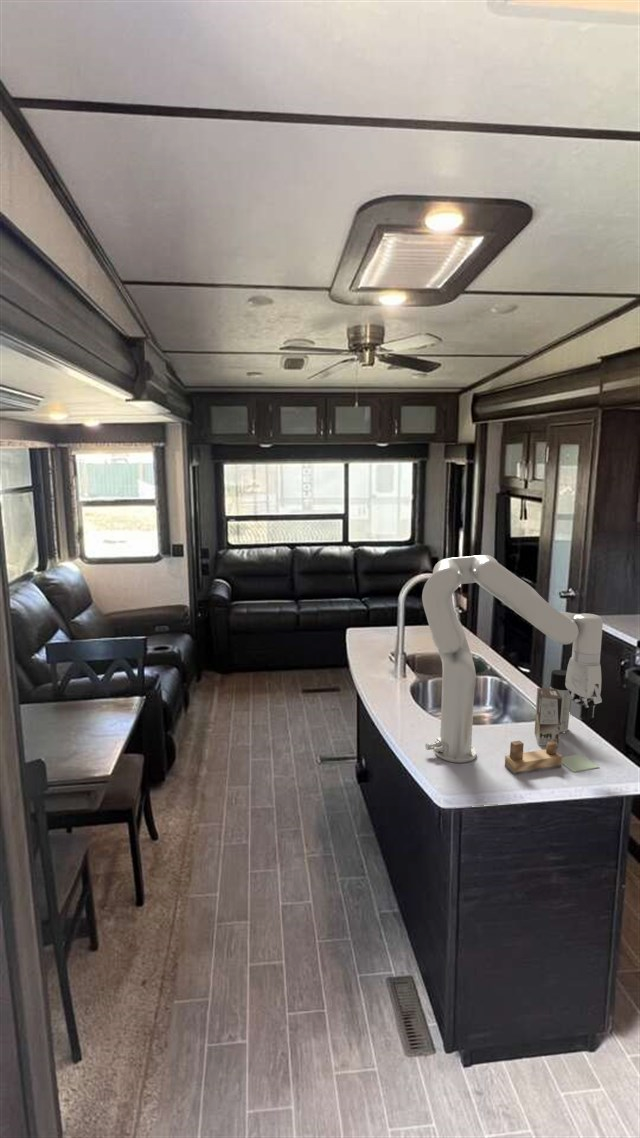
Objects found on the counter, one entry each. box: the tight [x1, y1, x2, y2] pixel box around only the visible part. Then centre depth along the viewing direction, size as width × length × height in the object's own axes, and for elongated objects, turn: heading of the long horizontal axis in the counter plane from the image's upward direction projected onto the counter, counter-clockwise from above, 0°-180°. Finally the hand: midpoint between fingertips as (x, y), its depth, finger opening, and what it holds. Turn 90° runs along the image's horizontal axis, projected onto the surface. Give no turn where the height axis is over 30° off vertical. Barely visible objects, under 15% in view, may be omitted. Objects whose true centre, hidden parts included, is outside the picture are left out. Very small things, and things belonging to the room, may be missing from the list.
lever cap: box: [569, 697, 595, 721], centre depth 179 cm, size 5×4×6 cm
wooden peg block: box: [504, 740, 563, 776], centre depth 179 cm, size 16×5×8 cm, turn 107°
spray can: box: [549, 669, 571, 734], centre depth 203 cm, size 7×7×20 cm
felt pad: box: [562, 754, 600, 773], centre depth 182 cm, size 9×8×1 cm
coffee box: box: [534, 687, 562, 747], centre depth 196 cm, size 9×6×16 cm
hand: (581, 715), depth 179 cm, fingers closed on lever cap, 4 cm apart
